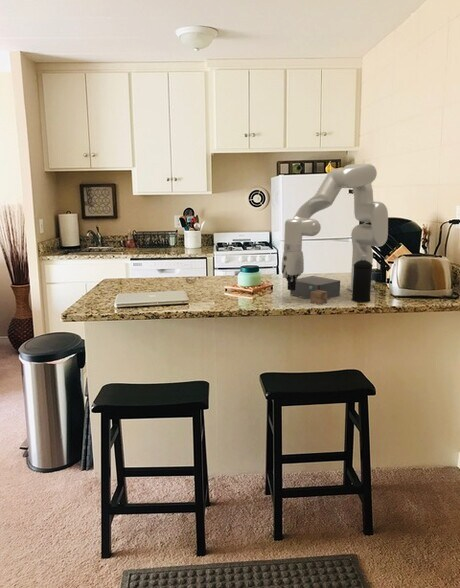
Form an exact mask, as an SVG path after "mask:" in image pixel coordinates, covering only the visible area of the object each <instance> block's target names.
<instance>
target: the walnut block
mask: <svg viewBox="0 0 460 588" xmlns="http://www.w3.org/2000/svg"><path fill="white" fill-rule="evenodd" d="M309 302H311V303H310V304H314V303H316V304H315V305H318V304H321V305H324V304H323V303H325V304H327V303H328V299H327V292H326V291H321V290H315V291H311V299H310V301H309Z"/></svg>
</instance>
